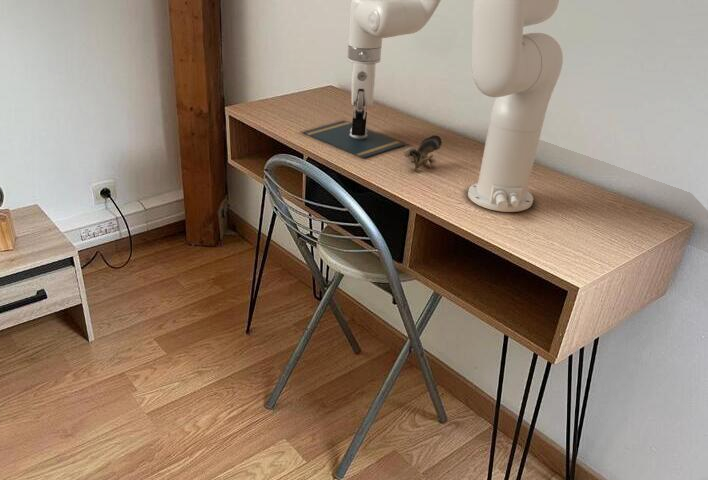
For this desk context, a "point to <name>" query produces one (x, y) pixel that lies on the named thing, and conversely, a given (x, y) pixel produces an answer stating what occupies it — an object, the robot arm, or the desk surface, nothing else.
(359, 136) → the rook chess piece
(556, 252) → the desk surface
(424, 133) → the desk surface
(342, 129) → the placemat
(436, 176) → the desk surface
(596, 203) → the desk surface
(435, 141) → the brown toy squirrel
